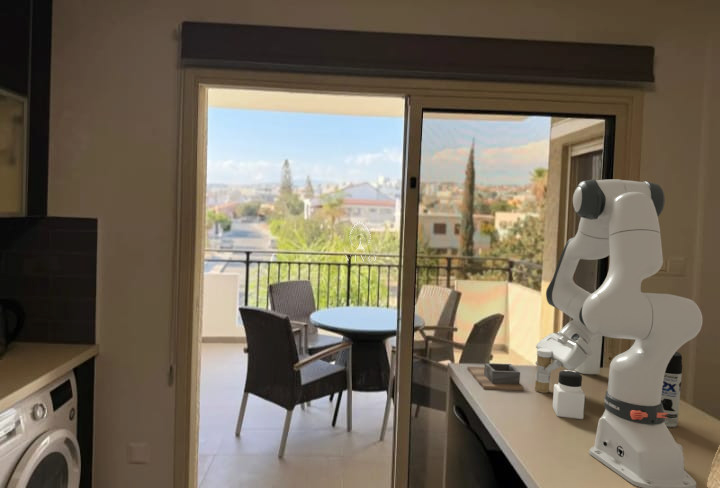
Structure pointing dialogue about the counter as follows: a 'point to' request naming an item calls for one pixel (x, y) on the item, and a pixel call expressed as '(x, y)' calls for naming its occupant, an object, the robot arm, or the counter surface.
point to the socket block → (497, 376)
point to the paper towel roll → (592, 358)
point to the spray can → (672, 390)
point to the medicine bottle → (569, 395)
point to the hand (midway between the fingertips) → (541, 368)
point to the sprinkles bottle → (542, 370)
